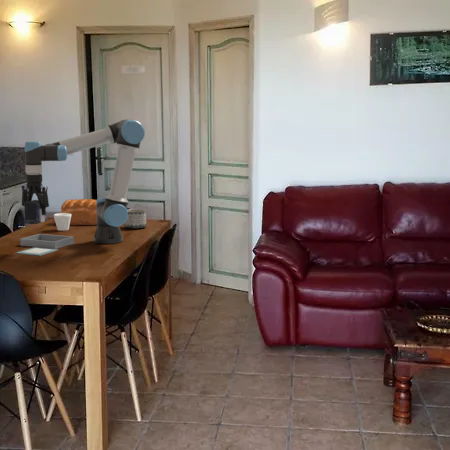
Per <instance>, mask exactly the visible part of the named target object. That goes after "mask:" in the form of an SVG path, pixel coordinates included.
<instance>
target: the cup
mask: <svg viewBox="0 0 450 450" xmlns="http://www.w3.org/2000/svg"><path fill="white" fill-rule="evenodd" d="M53 218H54V221H55V224H56V230H57V231H58V232H65V231H66V232H67V231H69V228H70V226H71V225H70V220H71V214H69V213H61V212H60V213H59V212H58V213H55V214H53Z"/></svg>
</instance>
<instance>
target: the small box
mask: <svg viewBox="0 0 450 450" xmlns="http://www.w3.org/2000/svg"><path fill="white" fill-rule="evenodd" d="M23 208H24V209H23V210H24V211H23V212H24V224H25V225H37V224H42V222H40V211H39V209H40V208H41V207H40V204H39V201H38V199H32V201H28V202H24V206H23ZM45 211H46V212H47V208H46V209H45ZM47 221H48V220H47V213H46V214H45V221H44V222H47ZM44 222H43V223H44Z"/></svg>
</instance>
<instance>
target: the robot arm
mask: <svg viewBox="0 0 450 450" xmlns="http://www.w3.org/2000/svg"><path fill="white" fill-rule="evenodd" d="M145 134H146V132H145V127H144V126H143V124H142V123H141V122H140V121H138V120H135V119H123V120H120V121H117V122H115V123H112V124H109V125H106V126H105V128H103V129H98V130H95V131H91V132H86V133H83V134H80V135H78V136H77V135H76V136H73V137H70V138H66V139H63V140H59V141H56V142H53V143H47V144H44V145H43V144H42V143H41V141H35V140H34V141H31V140H30V141H25V142H24V159H25V162H24V163H25V164H24V165H25V173H26V175H25V182H26V185H25V184H24V185H22V186H21V192H22V193H21V194H22V195H21V206H22V207H24V202H28V201H32V200H33V196H34V194H35V196H36V197H37V200H38V201H39V204H40V207H41V208H40V209H39V211H40V222H41V223H44V221H45V214H46V215H47V208H49V207H50V203H49V197H48V196H49V195H48V186H45V185H43V174H42V173H43V166H42V165H43V164H42V162H63V161H66V160H67V158H68V155H71V154H75V153H79V152H82V151H85V150H88V149H92V148H96V147H99V146H104V145H106V144H111V145H114V144H116V146H117V147H118V150H117V154H116V155H117V156H116V159H115V160H116V161H115V165H114V170H113V174H112V178H111V180H112V181H111V185H110V188H109V189H110V190H109V194H108V195H107V196H105V198H97V199H96V200H97V201H96V213H97V225H96V229H95V233H94V235H93V242H94V243H95V244H103V245H104V244H105V245H106V244H108V245H109V244H111V245H112V244H118V243H121V242H123V240H124V236H123V233H122V230H121V227H120V226H123V225H125V222H126V221H127V218H128V211H127V210H128V206H129V200H128V199H127V195H128V191H129V186H130V180H131V176H132V171H133V167H134V161H135V155H136V152H137V151H139V150H140V147H141V143H142V142H143V140H144V138H145ZM45 209H46V211H45ZM45 222H46V221H45Z"/></svg>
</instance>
